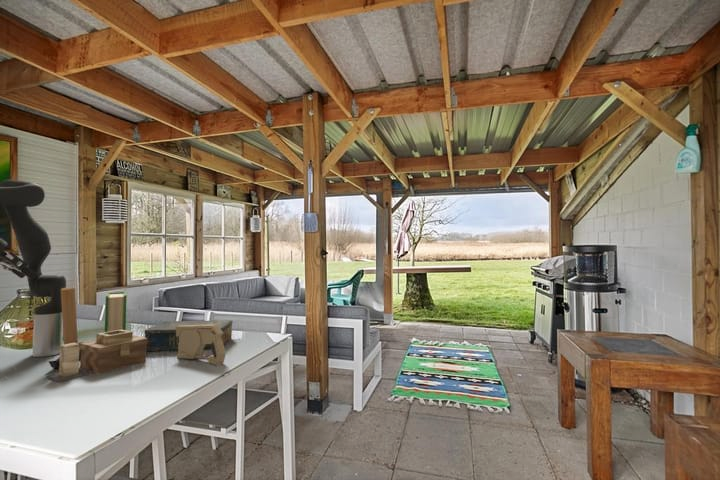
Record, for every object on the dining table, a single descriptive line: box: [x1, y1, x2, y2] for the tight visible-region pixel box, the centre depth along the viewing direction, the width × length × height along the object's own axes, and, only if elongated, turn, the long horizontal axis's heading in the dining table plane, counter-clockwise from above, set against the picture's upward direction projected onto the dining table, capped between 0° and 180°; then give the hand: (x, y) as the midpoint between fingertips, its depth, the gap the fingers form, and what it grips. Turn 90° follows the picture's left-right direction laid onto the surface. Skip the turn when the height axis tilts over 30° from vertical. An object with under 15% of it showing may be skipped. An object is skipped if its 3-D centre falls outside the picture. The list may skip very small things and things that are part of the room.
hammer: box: [48, 286, 84, 369], centre depth 131 cm, size 20×5×30 cm, turn 18°
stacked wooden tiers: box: [79, 329, 148, 375], centre depth 130 cm, size 15×17×12 cm
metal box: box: [144, 319, 233, 353], centre depth 158 cm, size 21×32×10 cm, turn 97°
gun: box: [176, 325, 226, 366], centre depth 135 cm, size 24×3×15 cm, turn 65°
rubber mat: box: [45, 367, 92, 383], centre depth 118 cm, size 10×9×1 cm
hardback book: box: [104, 291, 128, 332], centre depth 156 cm, size 18×7×24 cm, turn 35°
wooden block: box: [58, 343, 80, 377], centre depth 118 cm, size 4×4×10 cm
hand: (29, 276), depth 114 cm, fingers open, 8 cm apart
